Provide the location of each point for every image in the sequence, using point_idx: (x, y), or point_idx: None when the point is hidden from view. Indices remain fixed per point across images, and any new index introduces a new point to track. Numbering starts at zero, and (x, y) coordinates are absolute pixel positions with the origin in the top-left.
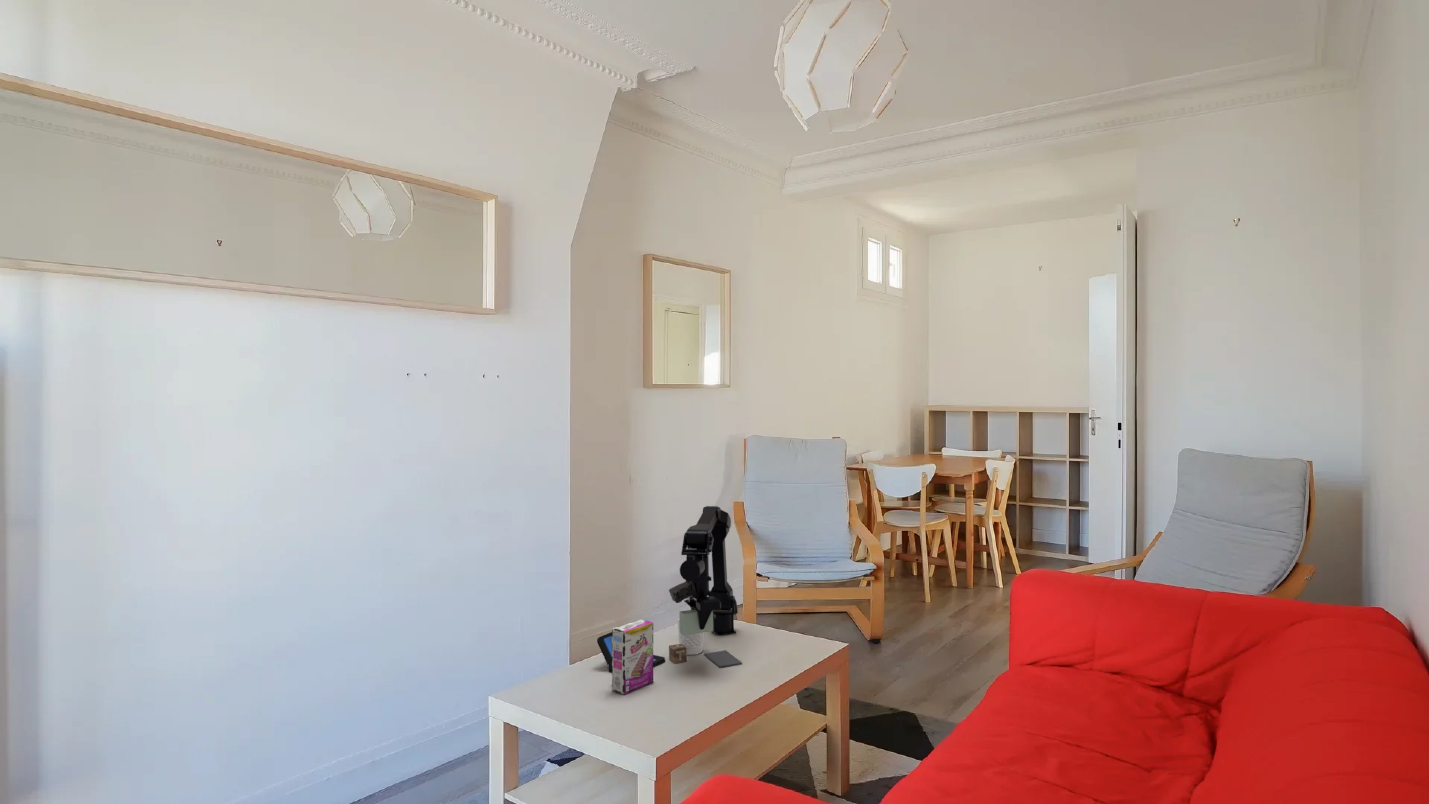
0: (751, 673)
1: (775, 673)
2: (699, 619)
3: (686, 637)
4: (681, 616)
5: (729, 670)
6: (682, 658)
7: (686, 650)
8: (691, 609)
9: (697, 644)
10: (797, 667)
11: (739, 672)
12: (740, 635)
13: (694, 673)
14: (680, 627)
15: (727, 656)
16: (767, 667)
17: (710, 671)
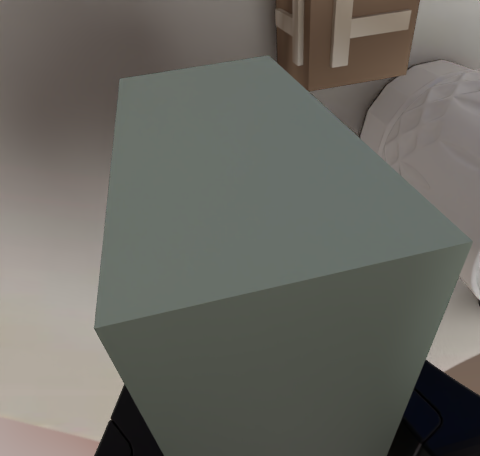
0: (28, 319)
1: (24, 379)
2: (113, 416)
3: (440, 128)
4: (242, 211)
5: (79, 250)
6: (283, 37)
7: (301, 84)
8: (451, 411)
9: None
10: (84, 422)
11: (45, 283)
12: (450, 313)
13: (43, 65)
14: (254, 85)
15: None
16: (98, 363)
17: (73, 166)
